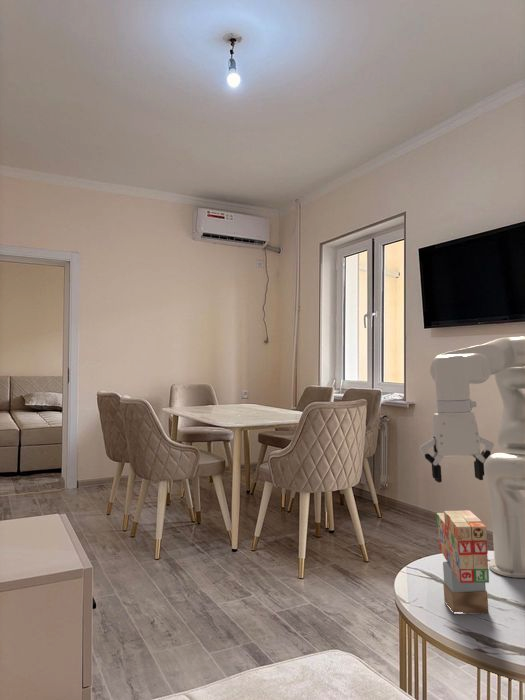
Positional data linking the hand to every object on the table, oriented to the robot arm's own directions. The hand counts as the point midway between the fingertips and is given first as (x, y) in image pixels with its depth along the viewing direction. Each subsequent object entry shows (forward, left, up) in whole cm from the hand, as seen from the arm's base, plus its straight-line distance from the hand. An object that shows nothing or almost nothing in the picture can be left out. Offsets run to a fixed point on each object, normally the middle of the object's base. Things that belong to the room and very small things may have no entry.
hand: (458, 480), depth 124 cm
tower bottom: (0, 0, -30) cm, 30 cm away
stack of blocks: (0, -1, -20) cm, 20 cm away
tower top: (0, 0, -25) cm, 25 cm away
